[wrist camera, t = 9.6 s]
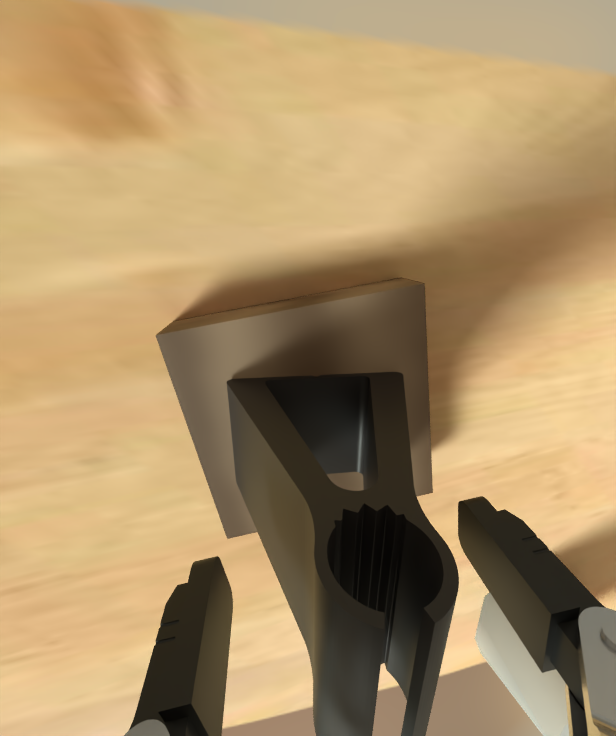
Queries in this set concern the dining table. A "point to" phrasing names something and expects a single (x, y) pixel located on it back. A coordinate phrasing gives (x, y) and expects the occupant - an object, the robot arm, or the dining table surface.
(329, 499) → the phone stand
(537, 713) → the toilet tissue
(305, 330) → the walnut block
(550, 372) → the dining table surface
